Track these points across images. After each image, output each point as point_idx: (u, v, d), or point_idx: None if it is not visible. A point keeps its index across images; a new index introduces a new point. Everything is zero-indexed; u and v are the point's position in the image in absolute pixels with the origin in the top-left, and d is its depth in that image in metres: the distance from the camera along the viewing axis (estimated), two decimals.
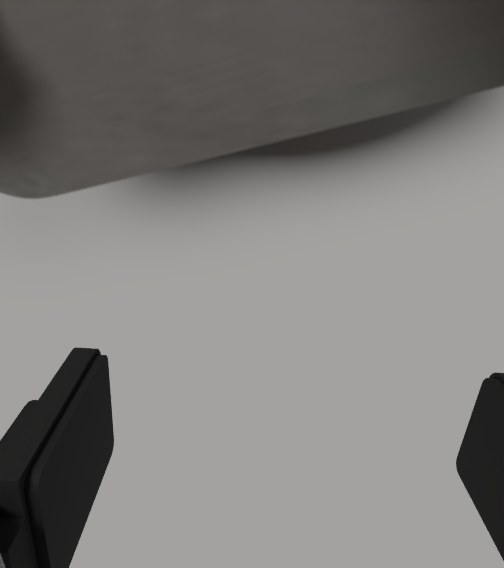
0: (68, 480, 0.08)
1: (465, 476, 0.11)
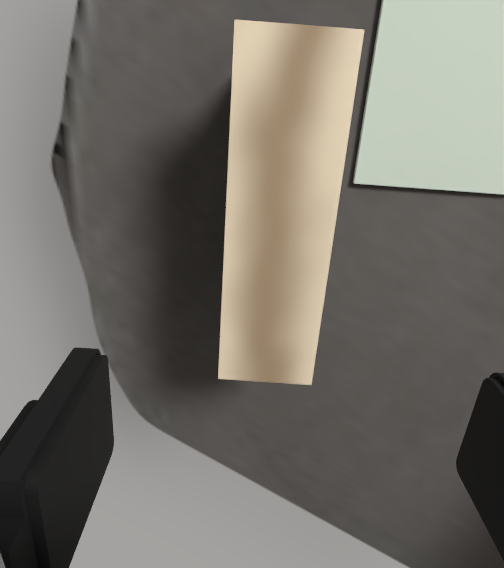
0: (68, 480, 0.08)
1: (465, 476, 0.11)
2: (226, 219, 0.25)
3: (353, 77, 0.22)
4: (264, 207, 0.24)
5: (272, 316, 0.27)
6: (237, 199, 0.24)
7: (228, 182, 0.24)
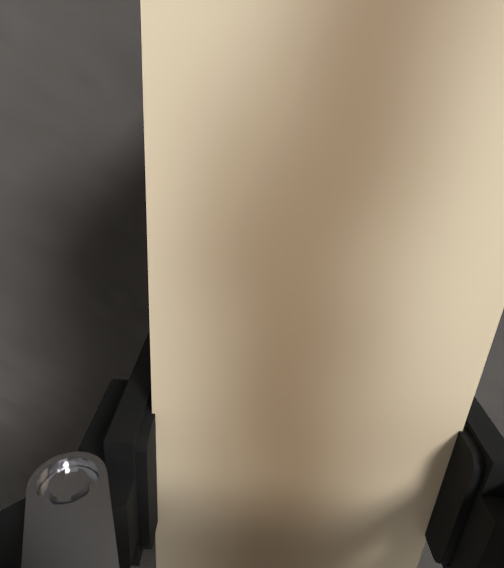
0: None
1: None
2: (156, 451, 0.09)
3: None
4: (260, 424, 0.09)
5: None
6: (183, 406, 0.09)
7: (154, 367, 0.08)
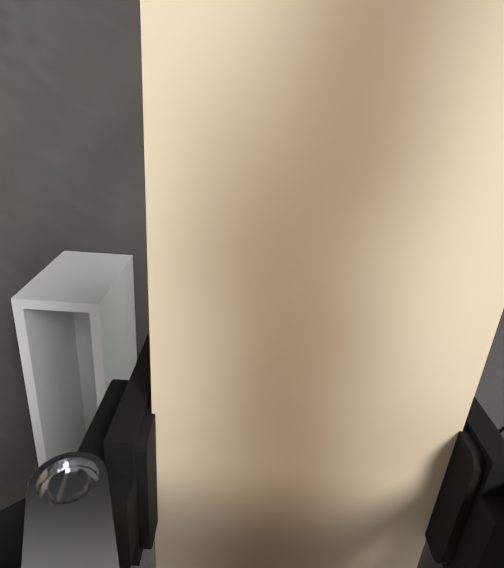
0: None
1: None
2: None
3: None
4: (260, 423, 0.09)
5: None
6: (183, 405, 0.09)
7: (154, 365, 0.08)
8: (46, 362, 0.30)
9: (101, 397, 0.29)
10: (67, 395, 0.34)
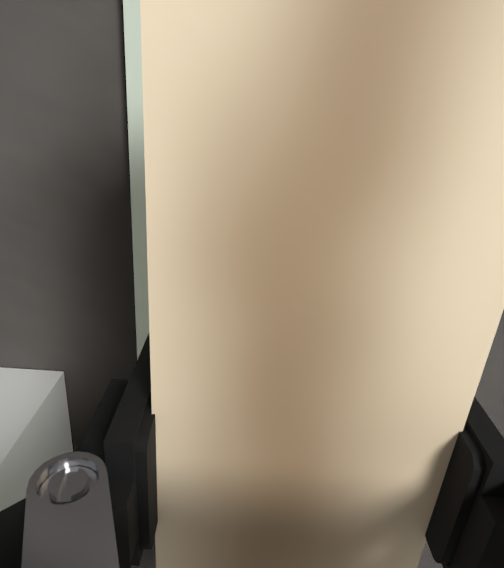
0: None
1: None
2: None
3: None
4: (260, 423, 0.09)
5: None
6: (183, 404, 0.08)
7: (154, 365, 0.08)
8: None
9: None
10: None
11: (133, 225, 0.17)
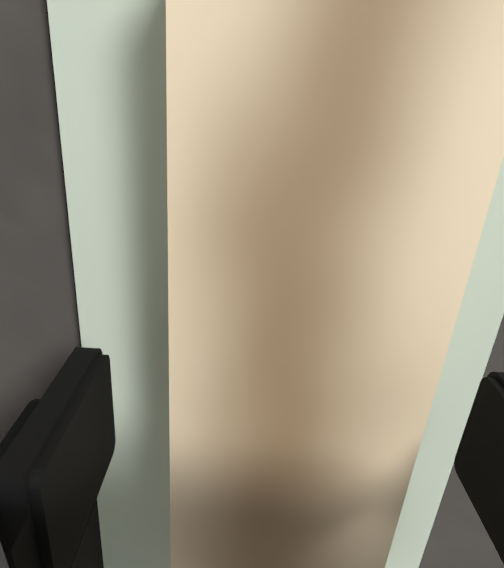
0: (70, 479, 0.08)
1: (463, 475, 0.11)
2: (171, 403, 0.10)
3: None
4: (262, 379, 0.10)
5: None
6: (195, 363, 0.10)
7: (171, 327, 0.09)
8: None
9: None
10: None
11: (76, 273, 0.12)
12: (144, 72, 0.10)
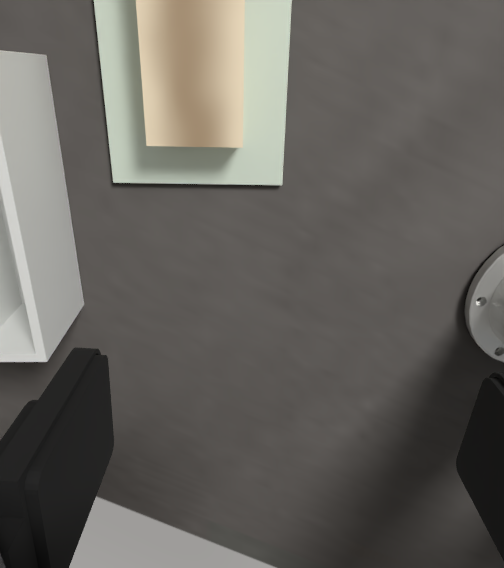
0: (68, 480, 0.08)
1: (465, 476, 0.11)
2: None
3: None
4: None
5: (193, 61, 0.26)
6: None
7: None
8: None
9: (6, 187, 0.24)
10: None
11: None
12: None
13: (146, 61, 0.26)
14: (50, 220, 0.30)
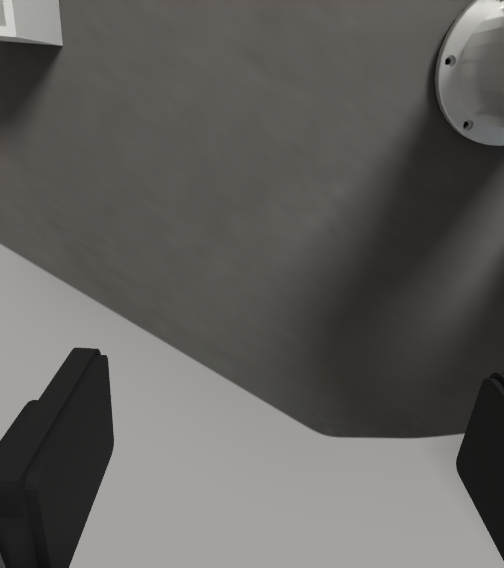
0: (68, 480, 0.08)
1: (465, 476, 0.11)
2: None
3: None
4: None
5: None
6: None
7: None
8: None
9: None
10: None
11: None
12: None
13: None
14: None
